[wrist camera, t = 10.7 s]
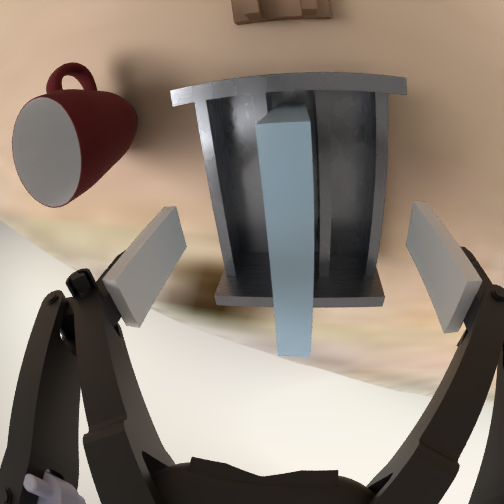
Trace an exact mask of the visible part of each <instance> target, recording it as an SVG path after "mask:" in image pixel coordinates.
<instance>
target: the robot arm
mask: <svg viewBox="0 0 504 504" xmlns="http://www.w3.org/2000/svg"><path fill="white" fill-rule="evenodd" d="M406 246H407V248H408V250H409V252H410V254H411V256H412V258H413V260H414V262H415V264H416V266H417V269H418V271H419V273H420V275H421V277H422V280H423V282H424V284H425V286H426V289H427V291H428V293H429V296H430V298H431V301H432V303H433V306H434V308H435V311H436V313H437V316H438V319H439V321H440V324H441V327H442V329H443V332H444V333H451V332H458V331H459V329H460V327H461V325H462V323H463V321H464V324H465V326H466V330H465V332H464V334H463V336H462V337H461V339H460V341H459V342H458V344H457V346H458V348H457V350H456V352H455V355H454V357H453V359H452V361H451V363H450V365H449V367H448V369H447V371H446V373H445V375H444V377H443V379H442V381H441V383H440V385H439V387H438V389H437V391H436V392H435V394H434V396H433V398H432V400H431V401H430V403H429V405H428V406H427V408H426V410H425V411H424V413H423V415H422V416H421V418H420V419H419V421H418V423H417V424H416V426H415V427H414V429H413V430H412V431H411V433H410V435H409V436H408V437H407V439H406V440H405V442H404V443H403V444H402V446H401V447H400V448H399V450H398V451H397V452H396V454H395V455H394V456H393V458H392V459H391V460H390V462H389V463H388V464H387V465H386V466H385V467H384V468H383V469H382V470H381V471H380V472H379V473H378V474H377V475H376V476H375V477H374V478H373V480H372V481H371V482H370V483H369V484H368V485H367V486H366V487H365V486H364V485H362V484H361V483H359V482H357V481H354V480H352V479H349V478H346V477H342V476H338V470H329V471H328V470H327V471H303V470H302V471H296V472H291V473H285V474H278V475H272V476H265V477H264V476H258V475H255V474H252V473H249V472H246V471H243V470H241V469H238V468H236V467H233V466H231V465H228V464H226V463H220V462H215V461H210V460H204V459H200V458H195V457H192V458H191V462H190V463H180V464H176V465H175V463H174V461H173V460H172V458H171V457H170V456H169V454H168V453H167V452H166V451H165V449H164V447H163V445H162V443H161V441H160V439H159V437H158V434H157V432H156V430H155V427H154V425H153V422H152V420H151V417H150V415H149V413H148V410H147V408H146V405H145V402H144V400H143V397H142V394H141V391H140V388H139V386H138V383H137V380H136V377H135V374H134V371H133V368H132V365H131V362H130V358H129V355H128V351H127V348H126V345H125V341H124V337H123V334H122V330H121V327H120V325H119V324H118V321H119V320H120V318H121V317H122V319H123V320H124V322H125V324H126V326H132V327H140V326H141V324H142V322H143V321H144V319H145V317H146V315H147V313H148V311H149V310H150V308H151V306H152V305H153V303H154V301H155V299H156V298H157V296H158V294H159V292H160V291H161V289H162V287H163V285H164V284H165V282H166V280H167V279H168V277H169V275H170V273H171V272H172V270H173V268H174V267H175V265H176V263H177V262H178V260H179V258H180V257H181V255H182V254H183V252H184V250H185V249H186V247H187V246H186V243H185V239H184V235H183V231H182V228H181V224H180V220H179V216H178V212H177V208H176V206H172V207H164V208H163V209H162V210H161V211H160V212H159V213H158V214H157V216H156V217H155V218H154V219H153V220H152V221H151V222H150V223H149V224H148V225H147V227H146V228H145V229H144V230H143V231H142V232H141V233H140V234H139V236H138V237H137V238H136V239H135V240H134V241H133V243H132V244H131V245H130V246H129V247H128V248H127V250H125V251H124V252H122V253H121V254H119V255H118V256H117V257H116V258H115V259H114V261H113V262H112V263H111V264H110V265H109V267H108V269H106V270H105V272H104V273H103V274H102V275H101V276H100V278H99V279H98V280H97V281H96V282H95V280H94V278H93V276H92V274H91V272H90V270H89V269H87V268H86V269H80V270H78V271H76V272H74V273H73V274H71V275H70V276H69V278H68V279H67V281H66V285H67V286H68V289H69V290H70V292H71V294H72V296H73V297H69V298H65V296H64V294H63V293H62V291H60V290H56V291H53V292H51V293H50V294H48V295H47V296H46V297H45V299H44V300H43V302H42V304H41V307H40V309H39V312H38V315H37V317H36V320H35V323H34V326H33V329H32V332H31V335H30V338H29V341H28V344H27V348H26V351H25V355H24V358H23V362H22V366H21V370H20V374H19V378H18V382H17V387H16V391H15V396H14V401H13V407H12V413H11V419H10V426H9V435H8V444H7V449H6V452H5V455H4V458H3V461H2V464H1V468H0V504H86V503H85V500H84V498H83V497H82V496H80V495H79V494H78V492H77V488H78V478H79V452H78V427H79V403H80V389H81V391H82V397H83V402H84V408H85V413H86V417H87V422H88V426H89V432H88V433H87V434H84V436H83V445H84V449H85V453H86V457H87V460H88V464H89V467H90V471H91V474H92V478H93V481H94V483H95V486H96V490H97V492H98V495H99V498H100V501H101V503H102V504H438V503H439V502H440V500H441V499H442V497H443V496H444V494H445V493H446V491H447V490H448V488H449V487H450V485H451V483H452V482H453V480H454V478H455V477H456V475H457V473H458V471H459V466H460V465H459V463H458V459H459V457H460V454H461V453H462V451H463V448H464V447H465V445H466V443H467V441H468V439H469V437H470V435H471V433H472V431H473V428H474V426H475V424H476V422H477V419H478V417H479V415H480V412H481V410H482V407H483V405H484V402H485V400H486V397H487V394H488V392H489V389H490V386H491V383H492V380H493V377H494V374H495V370H496V367H497V380H496V391H495V399H494V407H493V414H492V420H491V425H490V430H489V436H488V440H487V445H486V449H485V453H484V456H483V460H482V464H481V467H480V471H479V474H478V477H477V480H476V483H475V486H474V489H473V492H472V495H471V498H470V501H469V503H468V504H504V288H502V287H501V286H498V285H493V284H492V283H491V281H490V280H489V278H488V276H487V275H486V273H485V272H484V270H483V269H482V267H480V264H479V263H478V261H477V260H476V258H475V257H474V255H473V254H472V253H471V252H470V251H469V250H467V249H466V248H465V247H460V246H459V244H458V243H457V242H456V240H455V239H454V237H453V236H452V235H451V233H450V232H449V231H448V229H447V228H446V227H445V225H444V224H443V223H442V222H441V220H440V219H439V218H438V216H437V215H436V214H435V213H434V212H433V210H432V209H431V208H430V207H429V205H428V204H427V203H426V202H420V201H413V207H412V214H411V220H410V226H409V232H408V237H407V243H406ZM60 333H61V334H62V339H61V337H60ZM497 364H498V365H497Z"/></svg>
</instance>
